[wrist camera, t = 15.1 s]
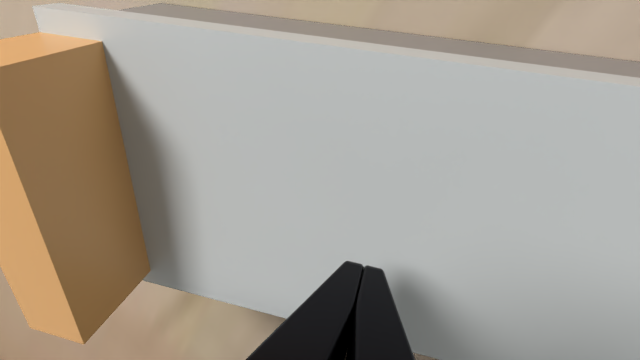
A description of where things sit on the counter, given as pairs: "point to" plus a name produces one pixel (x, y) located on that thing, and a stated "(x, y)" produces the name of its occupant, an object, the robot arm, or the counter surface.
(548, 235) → the cover
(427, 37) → the duct
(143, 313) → the counter surface
